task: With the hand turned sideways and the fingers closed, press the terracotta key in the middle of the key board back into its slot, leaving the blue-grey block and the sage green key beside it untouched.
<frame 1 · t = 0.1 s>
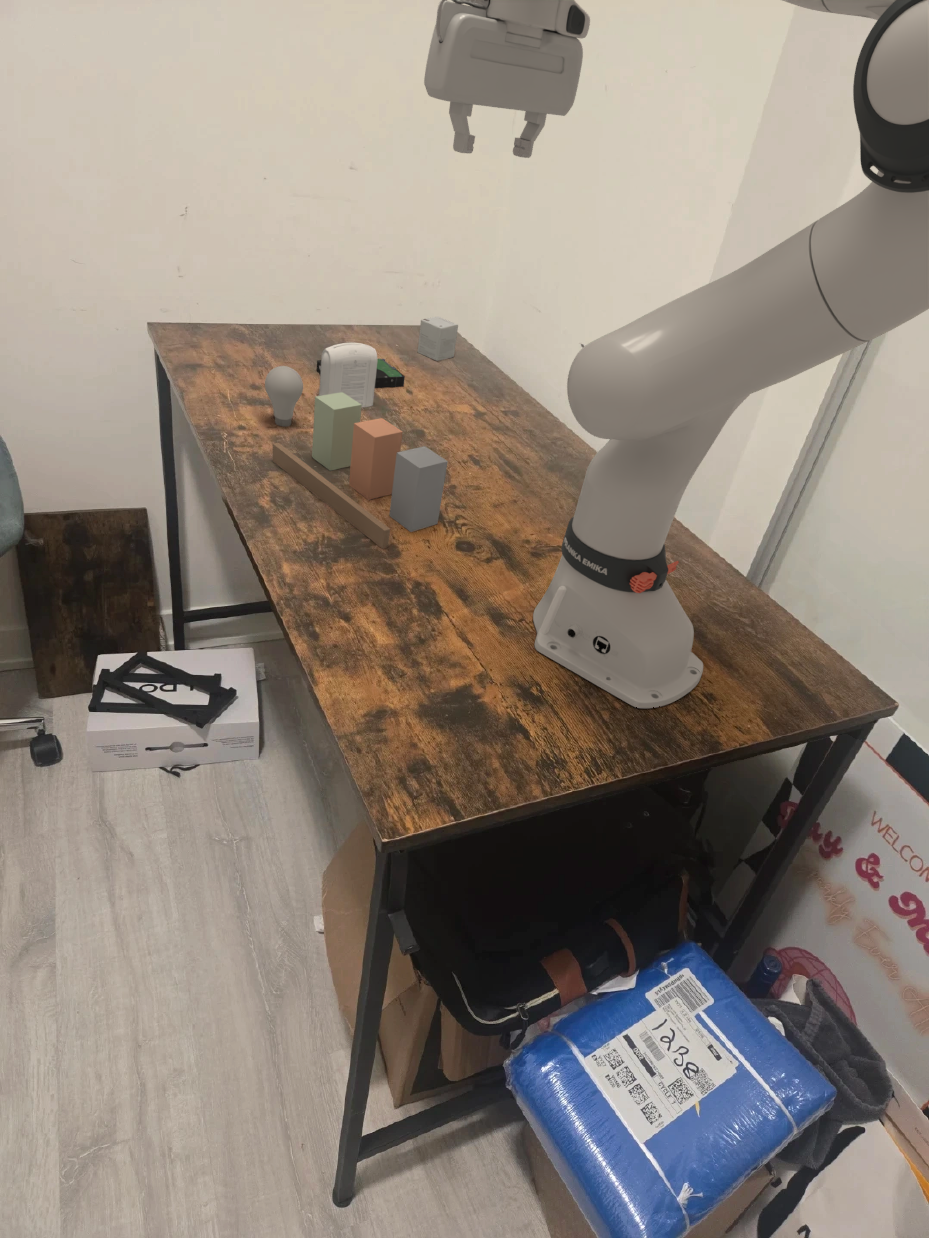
hand: (492, 154, 90), 48 cm above the table, tool pointing down, fingers open, 8 cm apart
skincare box: (435, 356, 176), on the table
disk drive: (359, 382, 158), on the table
photo printer: (345, 412, 144), on the table
terracotta key: (375, 459, 117), point 6 cm above the table, slide at 0.0 cm
key board: (368, 497, 120), on the table
blue-grey block: (417, 489, 111), point 6 cm above the table, slide at 0.0 cm
lightbulb: (282, 431, 134), on the table
sage key: (336, 431, 122), point 6 cm above the table, slide at 0.0 cm
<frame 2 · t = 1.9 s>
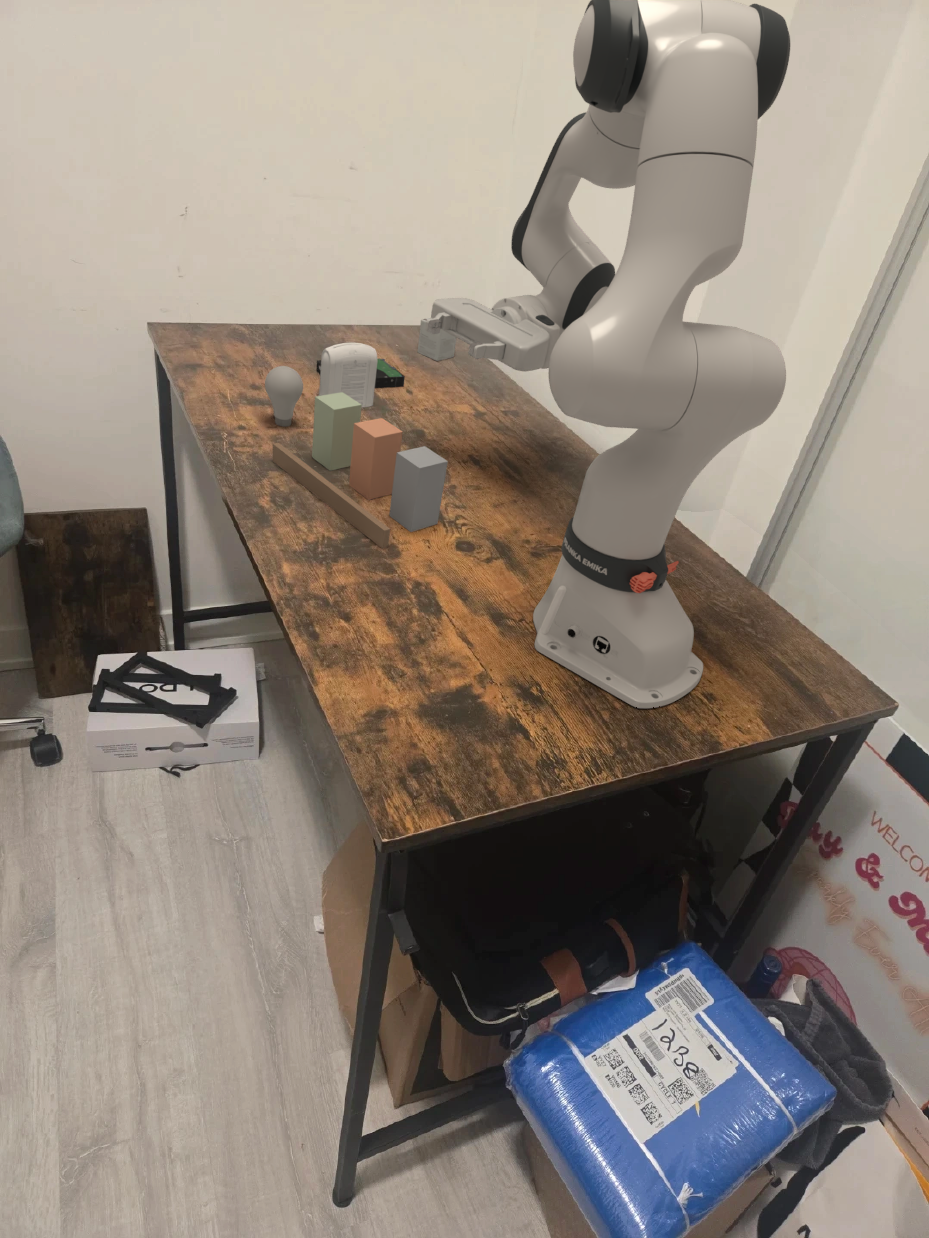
hand: (449, 339, 114), 23 cm above the table, tool horizontal, fingers open, 8 cm apart
nothing on the table moved.
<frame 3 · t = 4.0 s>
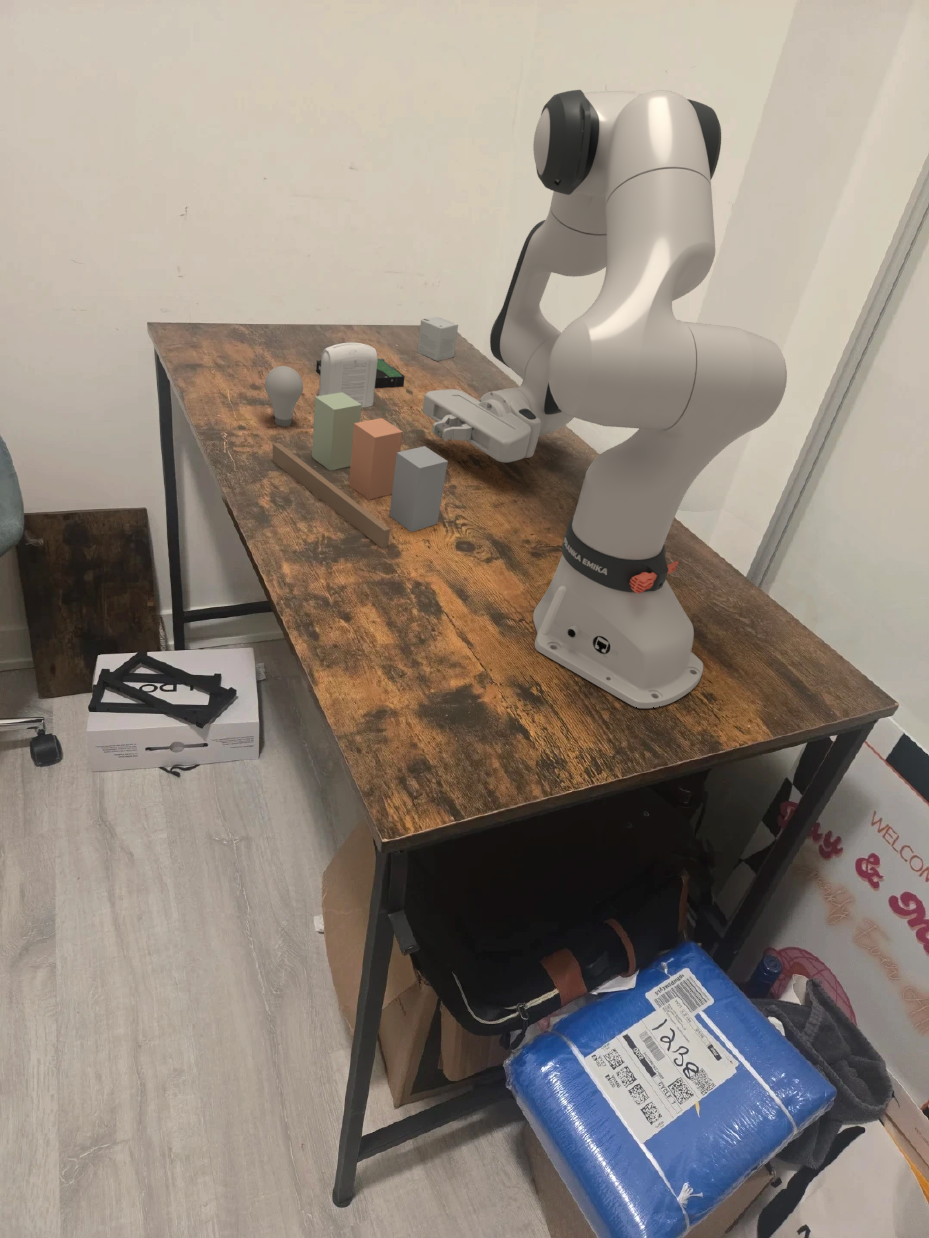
hand: (438, 432, 123), 8 cm above the table, tool horizontal, fingers closed
nothing on the table moved.
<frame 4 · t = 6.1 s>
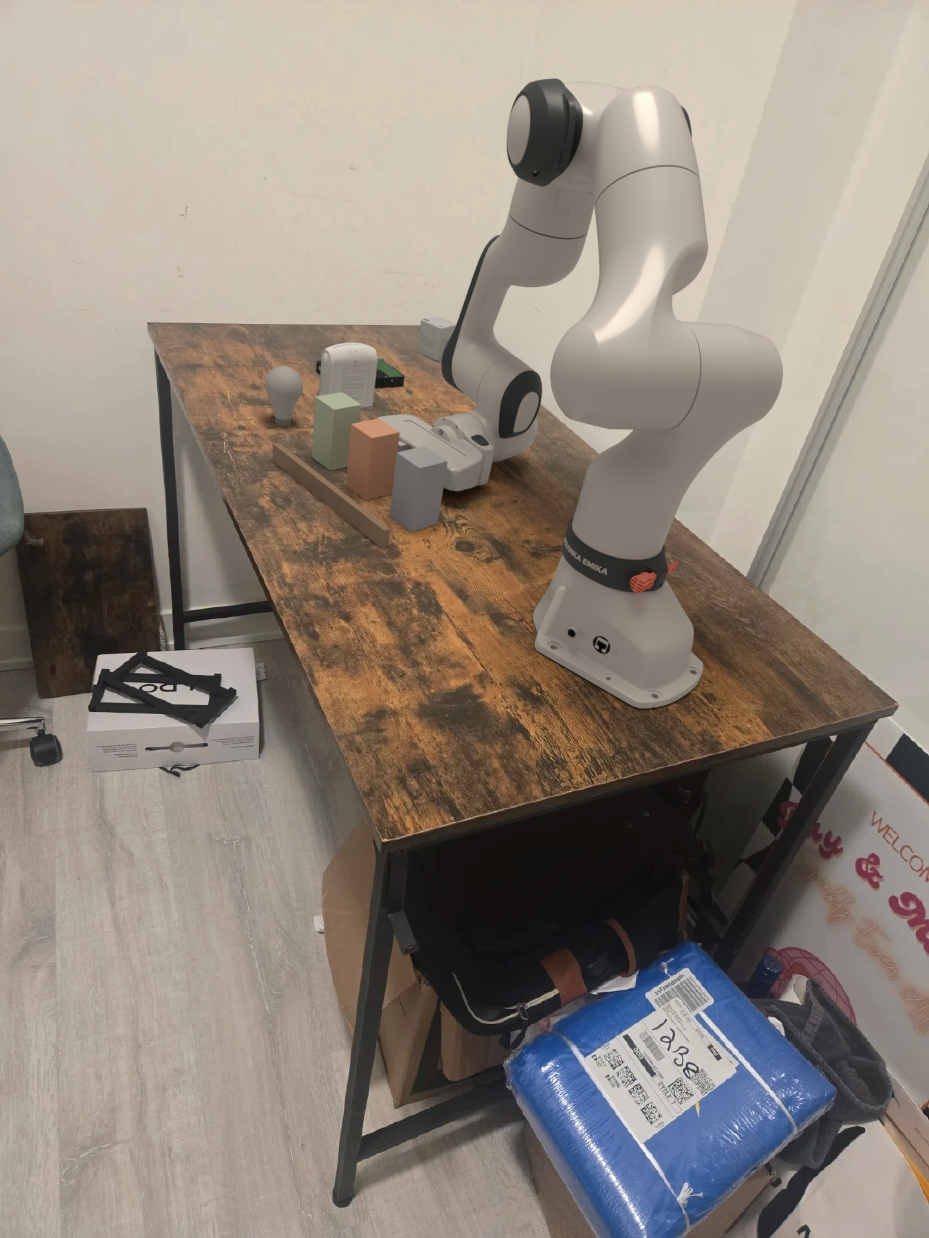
hand: (385, 459, 118), 6 cm above the table, tool horizontal, fingers closed, pressing on terracotta key
terracotta key: (372, 459, 116), point 6 cm above the table, slide at 0.5 cm, touching gripper
everything else where it was.
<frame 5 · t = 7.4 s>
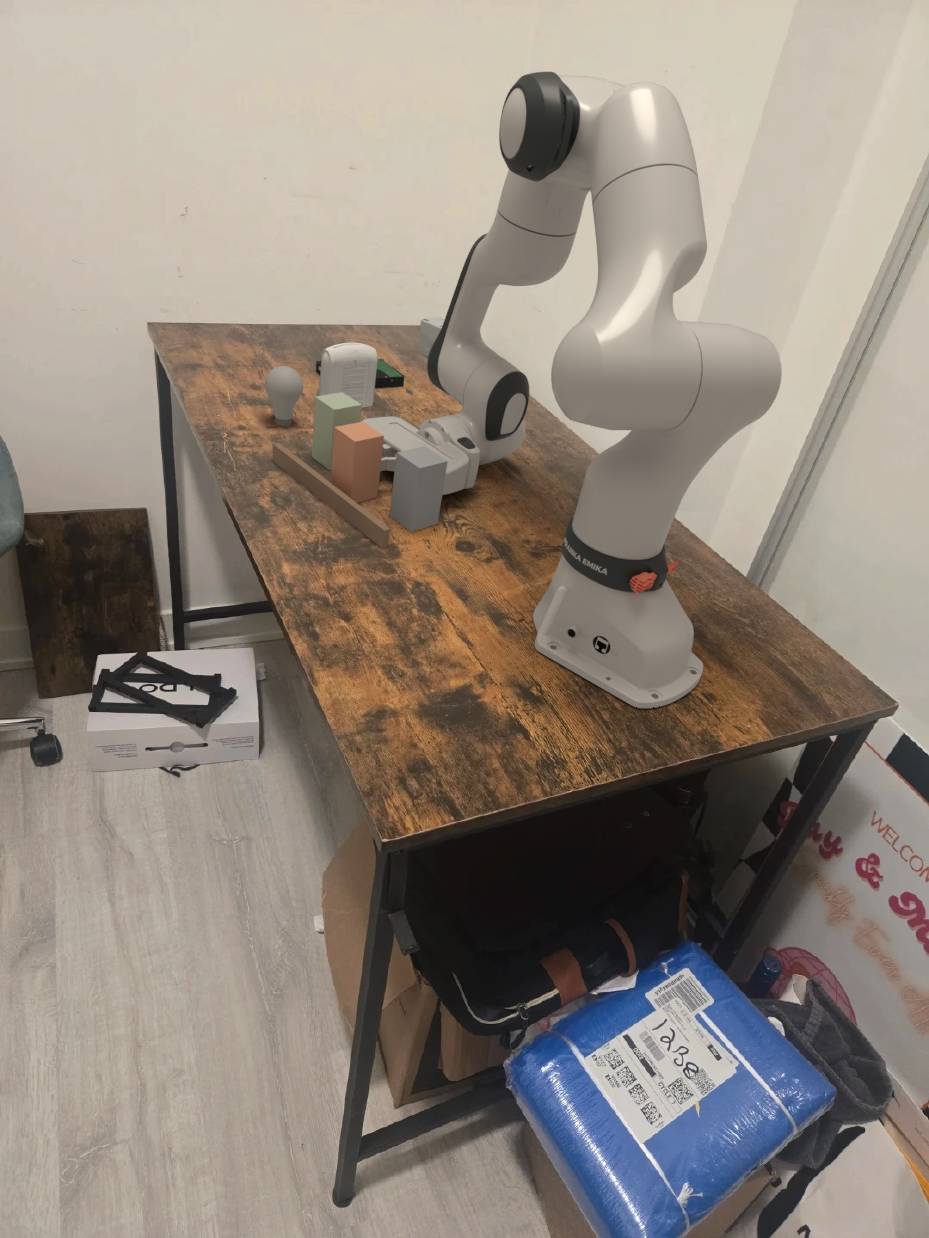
hand: (370, 462, 116), 6 cm above the table, tool horizontal, fingers closed
terracotta key: (356, 463, 115), point 6 cm above the table, slide at 3.4 cm
everything else where it was.
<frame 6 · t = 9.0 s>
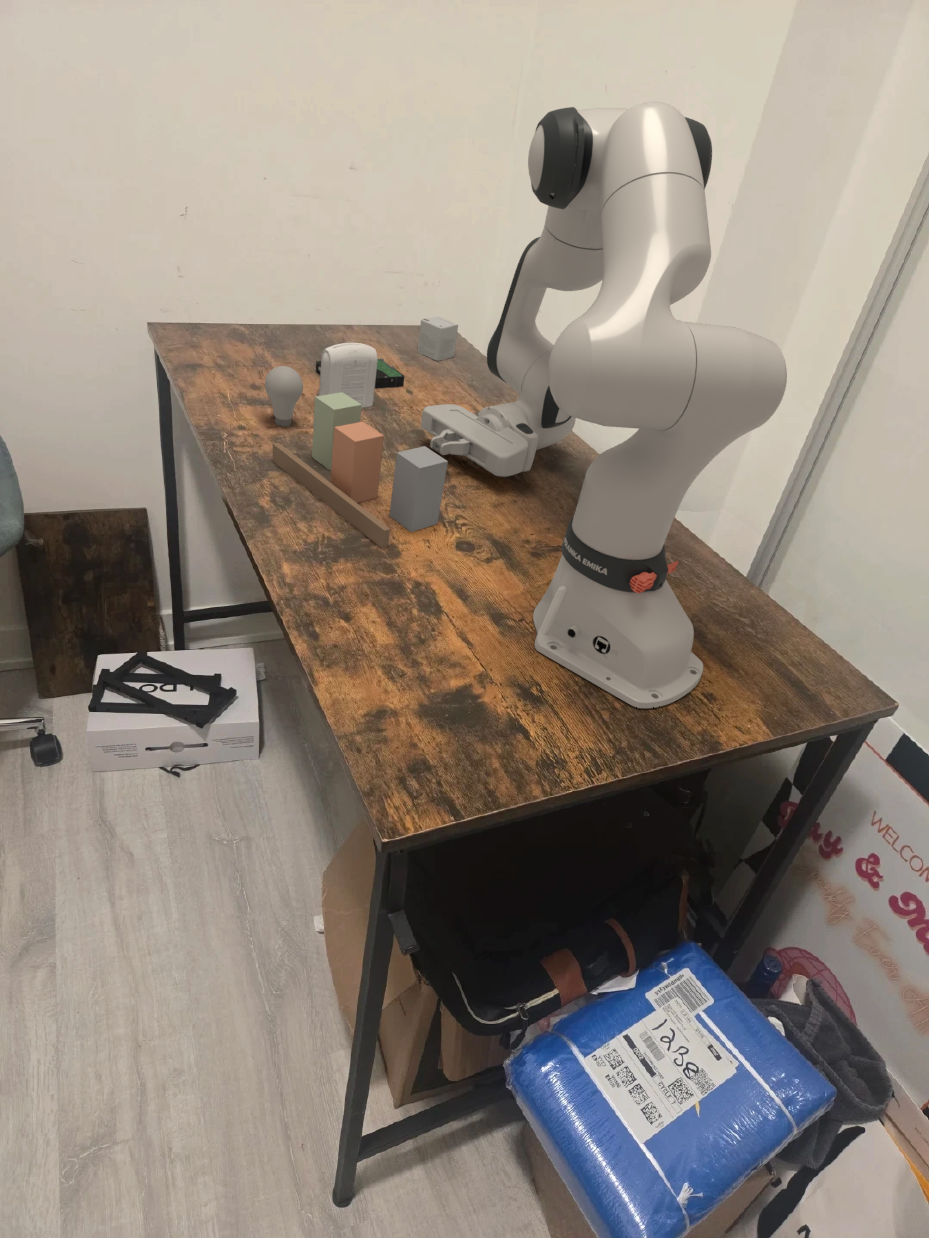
hand: (436, 446, 124), 6 cm above the table, tool horizontal, fingers closed
nothing on the table moved.
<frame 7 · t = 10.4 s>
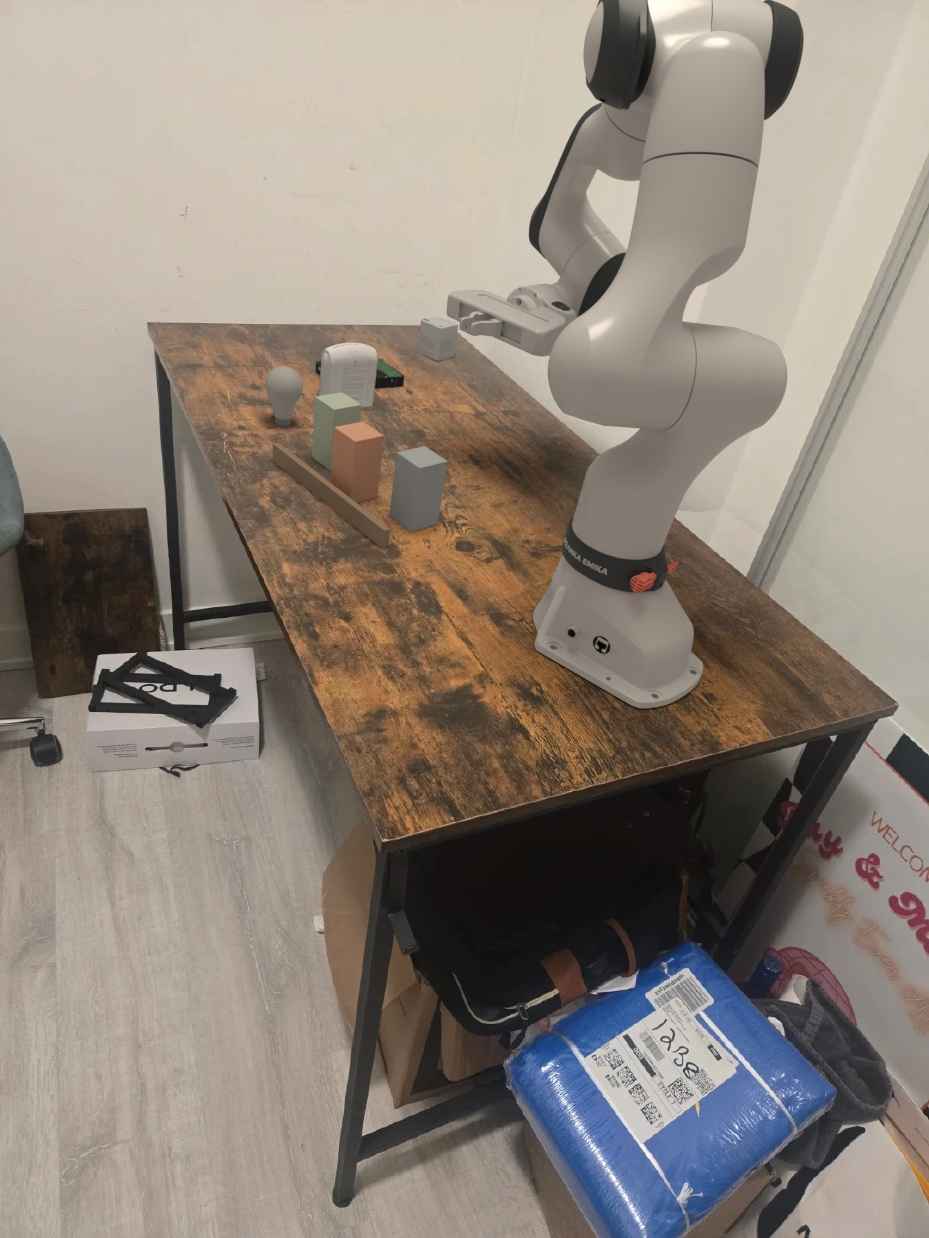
hand: (466, 327, 114), 25 cm above the table, tool horizontal, fingers closed
nothing on the table moved.
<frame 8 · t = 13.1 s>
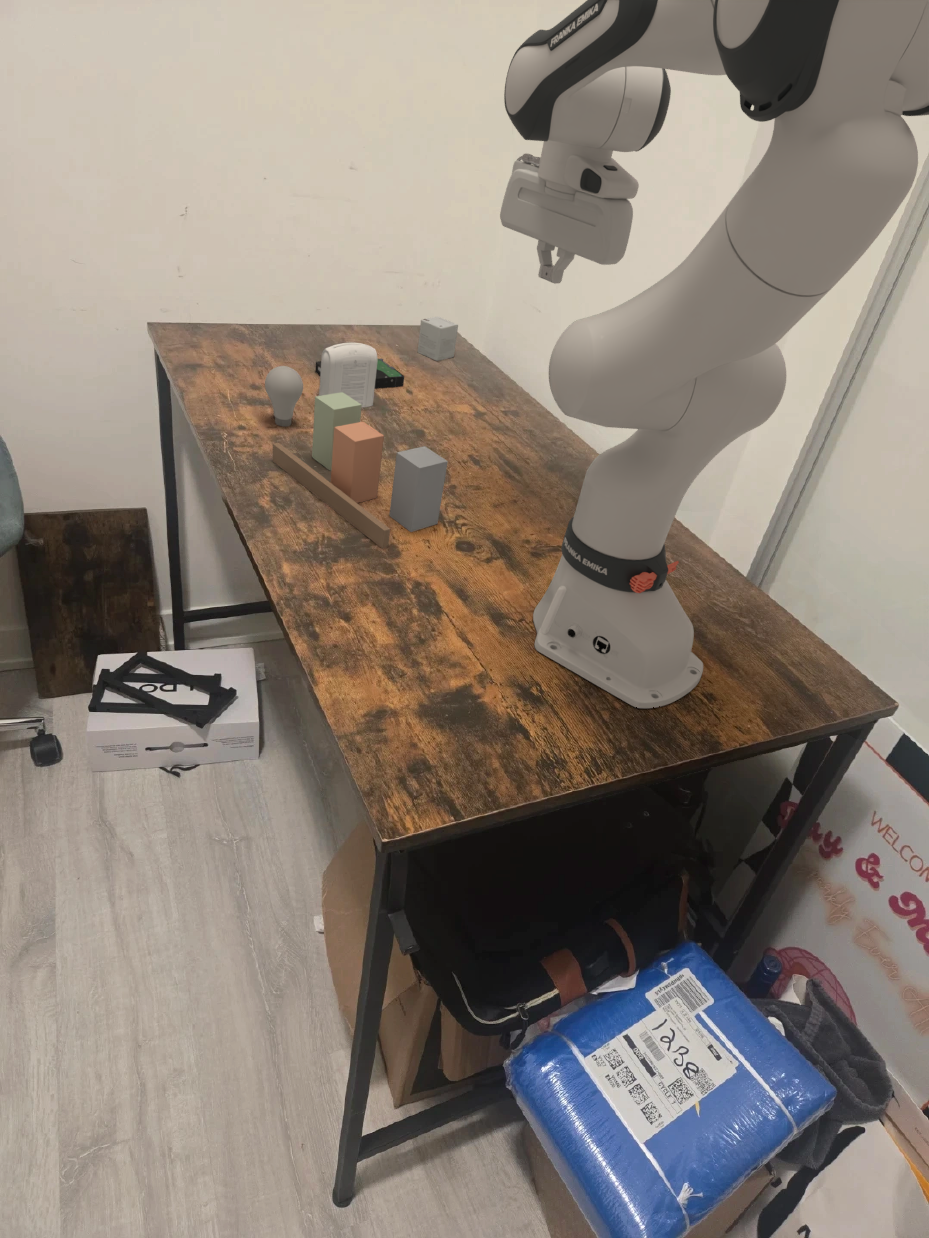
hand: (549, 280, 109), 33 cm above the table, tool pointing down, fingers closed
nothing on the table moved.
at the end: terracotta key slide at 3.4 cm; blue-grey block slide at 0.0 cm; sage key slide at 0.0 cm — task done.
